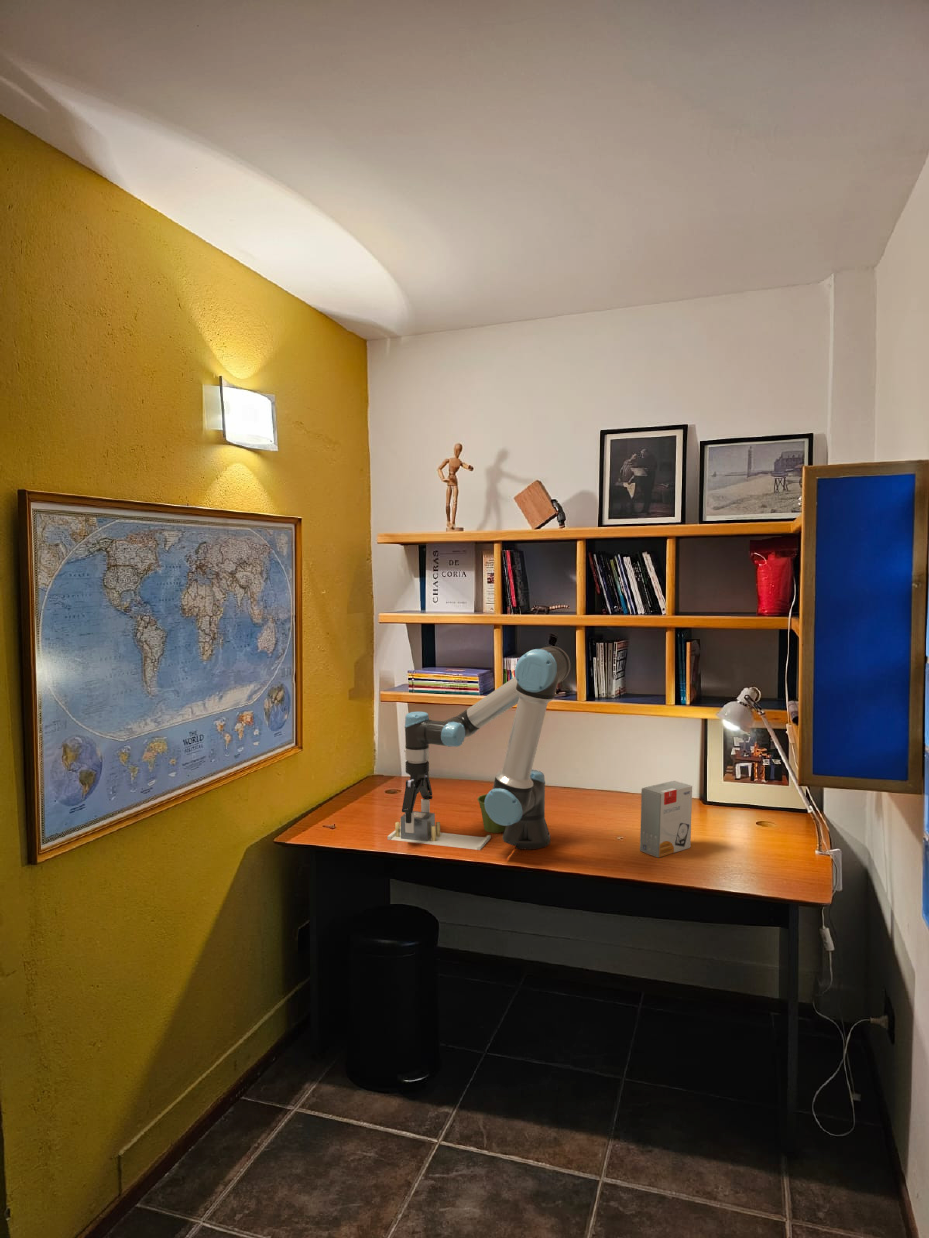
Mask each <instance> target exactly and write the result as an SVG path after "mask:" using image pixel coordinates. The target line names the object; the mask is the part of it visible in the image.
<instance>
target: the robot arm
mask: <svg viewBox="0 0 929 1238" xmlns="http://www.w3.org/2000/svg"><path fill="white" fill-rule="evenodd" d="M570 671H571V661H570V658H569V655H568V654H567V652H565V651H564V650H563V649H562V648H560V647H558V646H553V645H548V646H543V647H542V648H535V649H531V650H529V651H527V652H526V653H524V654H523V655H521V656H520V658H518V660H517V662H516V664H515V668H514V676H513V678H511V679H509V680H508V681H507V682H505V683H503V684H501V686H499V687H498V688H496V689H494V690H493V691H492V692H490V693H489V694H487V695H486V696H484V697H483V698H481V699H480V700H478V701H476V702H475V703H474V704H473V705H471V706H470V707H468V708H467V709H465V710H464V711H462V712H461V713H459V714H457V715H456V716H453V717H451V718H448V719H446V720H433V719H430V717H429V714H428V712H427V711H426V712H425V711H410V712H408V713H407V714H405V720H404V721H405V722H404V731H405V732H404V733H405V734H404V735H405V738H404V739H405V742H404V743H405V749H404V753H405V760H406V761H405V773H406V774H408V775H409V776H410V777H409V779H406V780H405V788H404V789H405V790H404V795H403V800H402V807H401V813H404V814H405V832H407V833H414V812H413V811H414V808H415V805H416V799H417V795H418V794H419V793H420V795H421V799H420V803H421V804H420V812H428V813H431V811H430V810H431V809H430V808H431V807H430V806H431V805H430V804H431V803H430V800H433V790H432V785H431V781H430V777H429V776H430V775H429V773H430V761H429V760H430V745H437V746H444V747H450V748H452V747H456V748H458V747H460V746H461V745H462V744H463V743H464V741H465V738H467V737H470V736H472V735H474V734H475V733H476V732H477V731H479V730H480V729H481V728H482V727H484V726H486V725H488V724H489V723H490V722H491V721H494V720H495V719H496V718H498V717H500V716H501V715H502V714H504V713H505V712H507V711H509V710H510V709H511V708H513V707H515V706H516V708H515V712H514V718H513V723H512V727H511V731H510V735H509V738H508V742H507V748H506V752H505V756H504V760H503V765H502V769H501V770H499V771H498V772H496V774H495V777H494V781H493V786H492V789H490V790H489V791H488V793H486V794H487V796H486V798H485V803H484V804H485V810H486V812H487V813H488V815H489V817H490V818H491V819H492V820H493V821H494V822H495V823H497V824H499V825H503V826H506V827H505V830H504V832H502V840H503V842H504V843H506V844H507V845H510V846H511V845H512V846H514V849H519V850H537V849H542V848H545V847H547V846H549V845H550V844H551V833H550V831H549V828H548V825H547V821H546V819H545V817H546V816H545V814H546V813H545V812H546V811H545V810H546V809H545V807H546V803H545V802H546V800H545V799H546V793H545V792H546V789H545V788H546V779H545V773H543V772H542V771H541V770H536V769H533V765H534V762H535V757H536V753H537V749H538V744H539V741H540V738H541V732H542V729H543V724H544V720H545V716H546V712H547V707H548V703H550V702H551V701H554V699H555V696H556V693H557V688H558V684H559V683H561V682H563V681H564V680H565V679H566V678H567V677H568V675H569V673H570Z"/></svg>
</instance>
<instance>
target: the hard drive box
mask: <svg viewBox="0 0 929 1238" xmlns="http://www.w3.org/2000/svg"><path fill="white" fill-rule="evenodd" d="M640 796H641V798H640V799H641V803H640V838H639V851H640V852H642V853H645V854H648V855H649V856H653V857H654V858H661V857H666V856H668V855H671V854H674V853H678V852H680V851H681V852H682V851H685V850H688V849H690V848H691V844H692V843H691V841H692V836H691V835H692V810H693V809H692V808H693V807H692V803H693V800H692V799H693V785H691V784H688V783H683V782H679V781H677V780H671V781H666V782H662V783H658V784H654V785H650V786H645V787H642V788H641V795H640Z"/></svg>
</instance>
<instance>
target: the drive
mask: <svg viewBox="0 0 929 1238" xmlns="http://www.w3.org/2000/svg"><path fill="white" fill-rule="evenodd" d="M413 812H414V833H407V832H405V813H404V814H403V815H401V816H400V819H401V839H409V840H418V841H428V840H429V839H430V838H431V826H436V814H435V812H430V813H428V812H421V811H419V810H418V811H416V810H413Z"/></svg>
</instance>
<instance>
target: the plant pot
mask: <svg viewBox="0 0 929 1238" xmlns="http://www.w3.org/2000/svg"><path fill="white" fill-rule="evenodd" d="M487 794H488V793H486V794H481V795H479V796H478V797H477V799H476V800H477V802H478V803H479V808H480V811H481V812H480V813H481V817H482V818H481V819H482V824H483V829H484V831H485V832H487V833H493V834H498V833H503V832H504V830H505V827H506V826H503V825H499V824H497V823H495V822H494V821H493V820H492V819H491V818H490V817H489V815H488V813H487V812H486V810H485V804H484V803H485V798H486V796H487Z"/></svg>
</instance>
